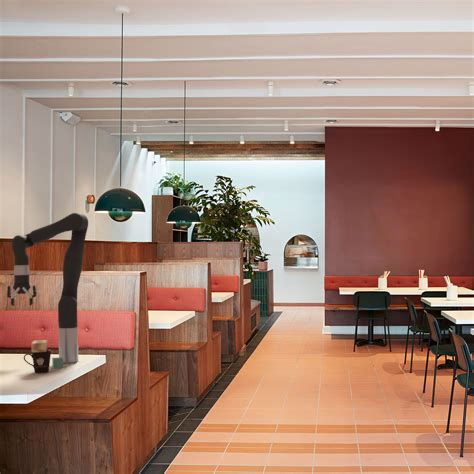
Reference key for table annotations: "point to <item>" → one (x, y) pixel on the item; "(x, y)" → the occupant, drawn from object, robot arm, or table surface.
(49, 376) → the table surface
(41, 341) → the oak block
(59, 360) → the green cube
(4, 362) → the table surface
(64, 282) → the robot arm
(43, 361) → the coffee mug
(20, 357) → the table surface
